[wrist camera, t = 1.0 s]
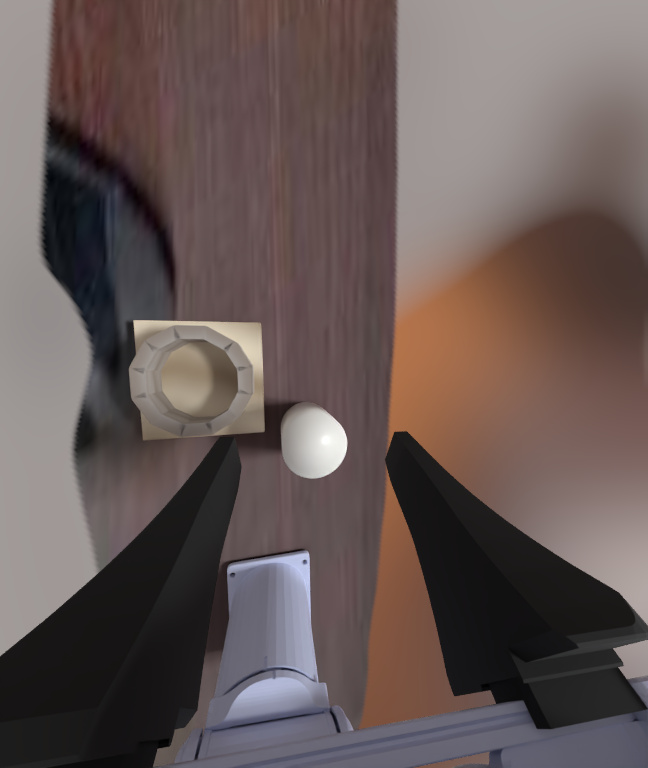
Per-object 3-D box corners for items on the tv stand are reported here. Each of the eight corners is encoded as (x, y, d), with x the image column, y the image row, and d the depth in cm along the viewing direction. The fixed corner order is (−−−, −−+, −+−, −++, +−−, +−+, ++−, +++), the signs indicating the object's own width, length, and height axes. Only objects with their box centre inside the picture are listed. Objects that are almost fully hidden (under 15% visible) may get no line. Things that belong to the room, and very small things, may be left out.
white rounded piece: (330, 448, 24) (347, 474, 18) (281, 452, 23) (282, 481, 17) (329, 400, 24) (346, 412, 18) (279, 402, 23) (280, 415, 17)
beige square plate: (264, 429, 23) (262, 440, 19) (149, 436, 21) (124, 450, 17) (261, 324, 22) (258, 317, 18) (140, 322, 20) (112, 313, 16)
